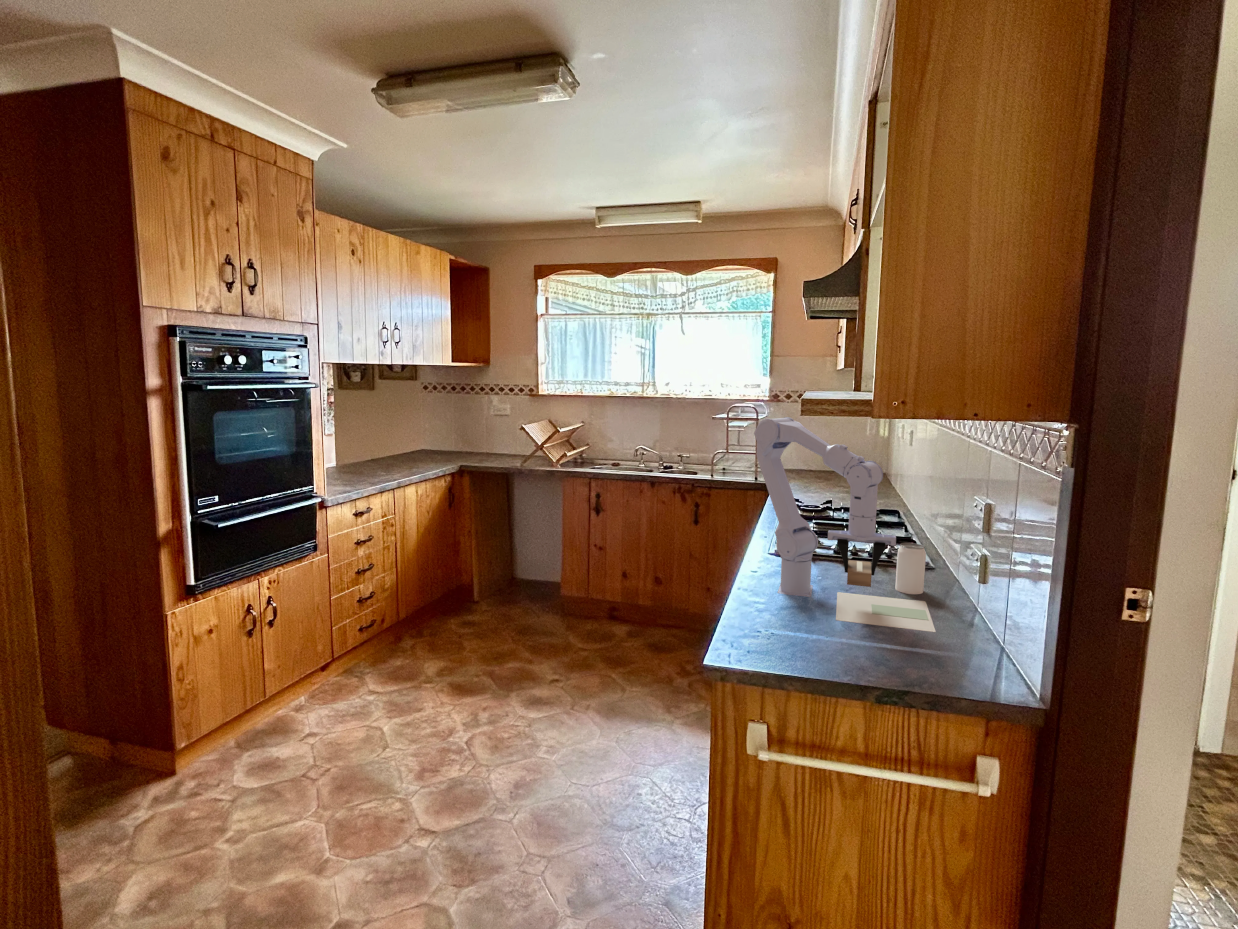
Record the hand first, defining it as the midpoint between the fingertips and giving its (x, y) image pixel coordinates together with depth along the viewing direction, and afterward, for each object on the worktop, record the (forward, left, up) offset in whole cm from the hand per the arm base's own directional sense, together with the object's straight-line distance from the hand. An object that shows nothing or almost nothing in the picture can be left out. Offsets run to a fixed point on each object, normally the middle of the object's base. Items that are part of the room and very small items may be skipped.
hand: (859, 572), depth 152 cm
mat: (0, +5, -9) cm, 10 cm away
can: (-18, +12, -9) cm, 24 cm away
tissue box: (0, 0, -2) cm, 2 cm away
